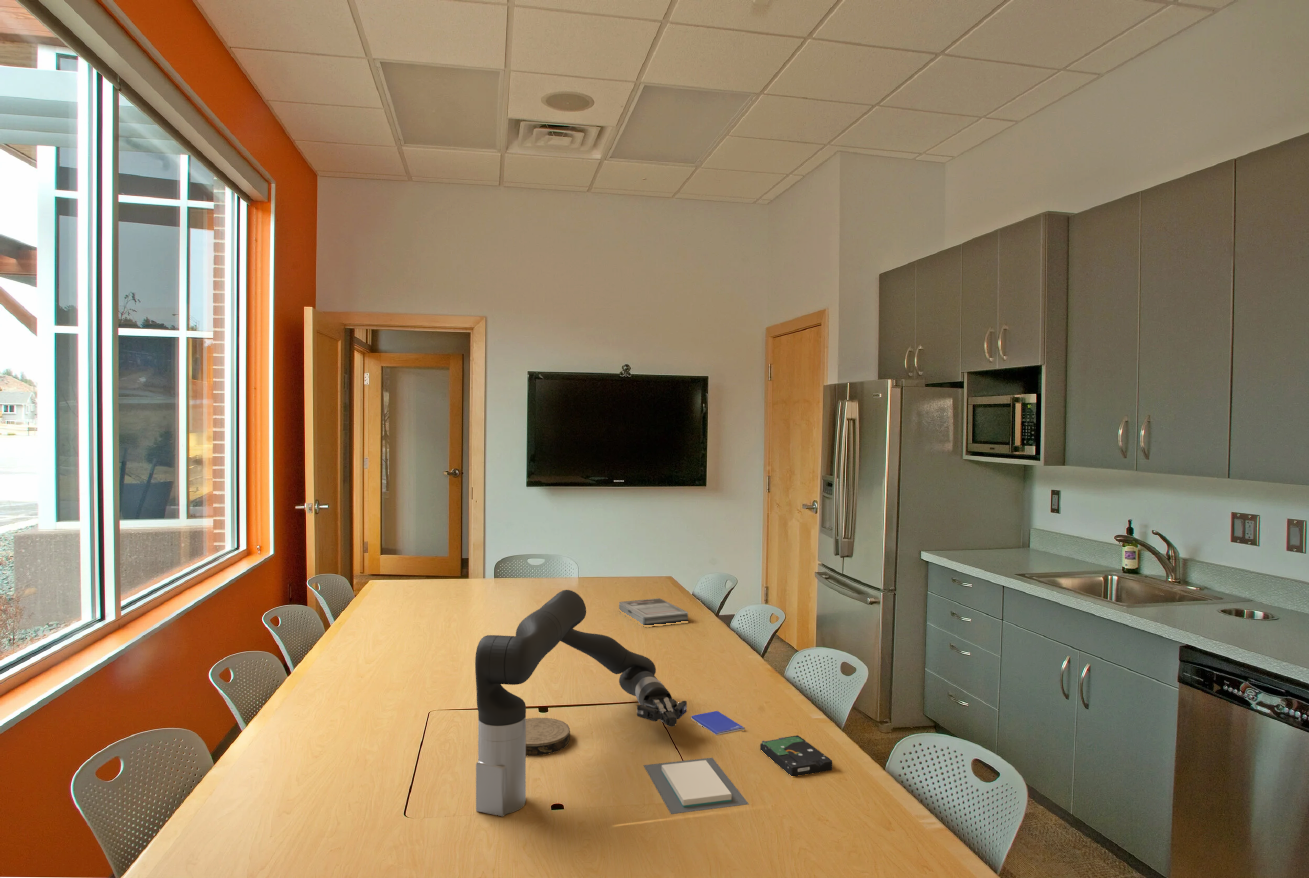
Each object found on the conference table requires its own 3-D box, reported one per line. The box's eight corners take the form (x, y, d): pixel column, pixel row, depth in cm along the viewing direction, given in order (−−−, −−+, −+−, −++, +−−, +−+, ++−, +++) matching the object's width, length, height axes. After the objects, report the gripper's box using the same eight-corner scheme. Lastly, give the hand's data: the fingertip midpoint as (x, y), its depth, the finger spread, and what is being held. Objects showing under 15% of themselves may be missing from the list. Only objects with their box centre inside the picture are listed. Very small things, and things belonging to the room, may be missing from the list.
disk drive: (833, 773, 169) (797, 745, 183) (833, 760, 169) (797, 734, 183) (792, 780, 165) (758, 752, 179) (792, 767, 165) (759, 740, 179)
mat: (643, 767, 170) (643, 765, 170) (712, 759, 174) (712, 757, 174) (670, 816, 149) (671, 814, 149) (748, 806, 153) (748, 804, 153)
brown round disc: (571, 754, 177) (571, 741, 177) (500, 759, 174) (500, 746, 174) (568, 727, 192) (568, 715, 192) (503, 731, 190) (503, 719, 190)
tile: (661, 765, 167) (683, 800, 151) (705, 760, 169) (731, 794, 154) (661, 772, 167) (683, 807, 151) (705, 767, 169) (731, 801, 154)
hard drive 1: (644, 629, 286) (644, 617, 286) (618, 613, 311) (618, 602, 311) (688, 624, 294) (689, 612, 294) (659, 608, 319) (659, 598, 318)
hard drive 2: (744, 726, 190) (718, 710, 201) (716, 732, 187) (691, 715, 198) (744, 733, 190) (718, 716, 201) (716, 739, 187) (691, 721, 198)
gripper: (627, 683, 192) (644, 709, 175) (678, 679, 195) (699, 703, 178) (627, 713, 192) (644, 741, 175) (678, 708, 195) (699, 735, 179)
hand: (672, 722), depth 177 cm, fingers closed
